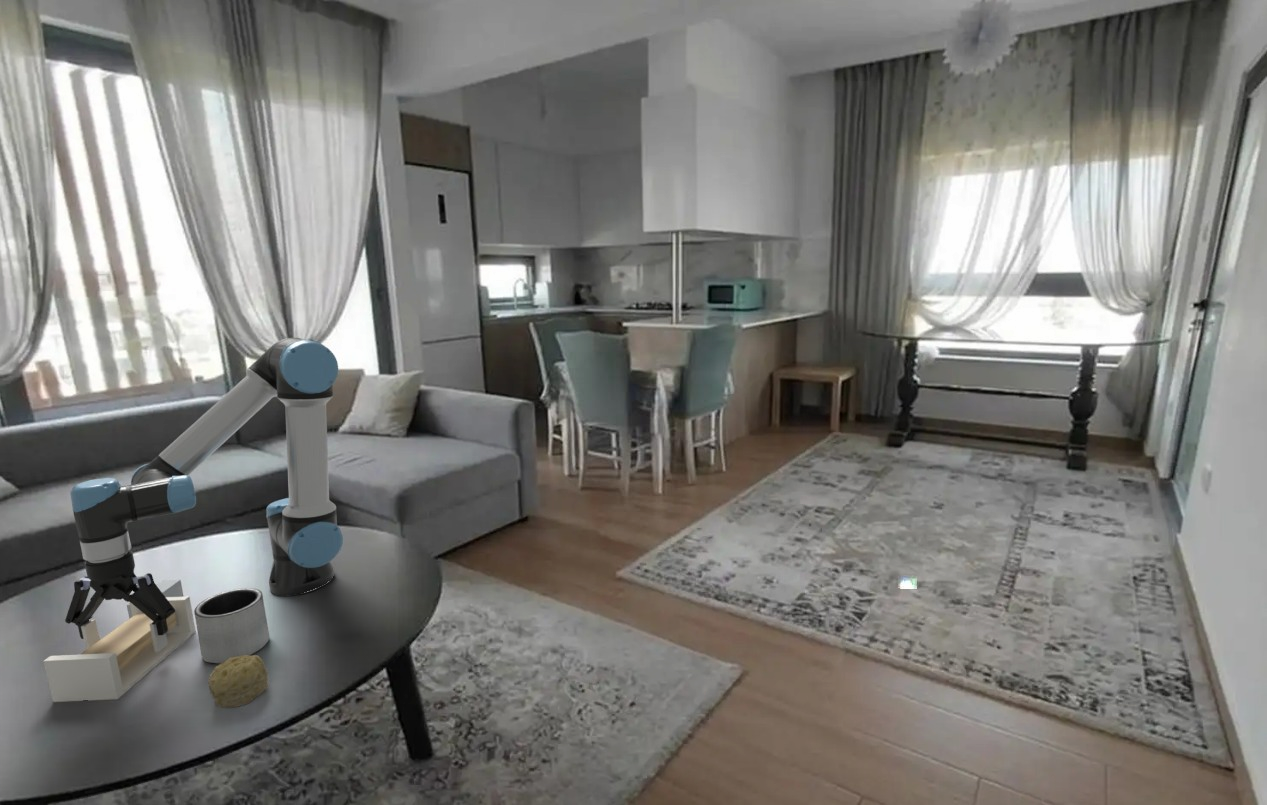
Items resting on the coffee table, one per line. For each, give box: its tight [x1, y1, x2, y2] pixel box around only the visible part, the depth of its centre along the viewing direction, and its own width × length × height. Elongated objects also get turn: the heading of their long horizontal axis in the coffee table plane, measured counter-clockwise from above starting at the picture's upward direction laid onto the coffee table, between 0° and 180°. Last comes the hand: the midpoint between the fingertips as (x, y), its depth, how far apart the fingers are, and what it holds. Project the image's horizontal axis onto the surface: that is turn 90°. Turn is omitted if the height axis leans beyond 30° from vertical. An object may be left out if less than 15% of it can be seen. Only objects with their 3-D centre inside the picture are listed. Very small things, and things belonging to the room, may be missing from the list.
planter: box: [194, 587, 270, 665], centre depth 134 cm, size 13×12×11 cm
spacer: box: [126, 579, 185, 620], centre depth 151 cm, size 4×12×5 cm, turn 2°
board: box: [79, 612, 177, 670], centre depth 130 cm, size 8×18×3 cm, turn 2°
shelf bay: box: [43, 595, 197, 703], centre depth 130 cm, size 12×23×9 cm, turn 2°
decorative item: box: [208, 654, 269, 709], centre depth 119 cm, size 10×10×10 cm
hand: (127, 650), depth 130 cm, fingers open, 13 cm apart
